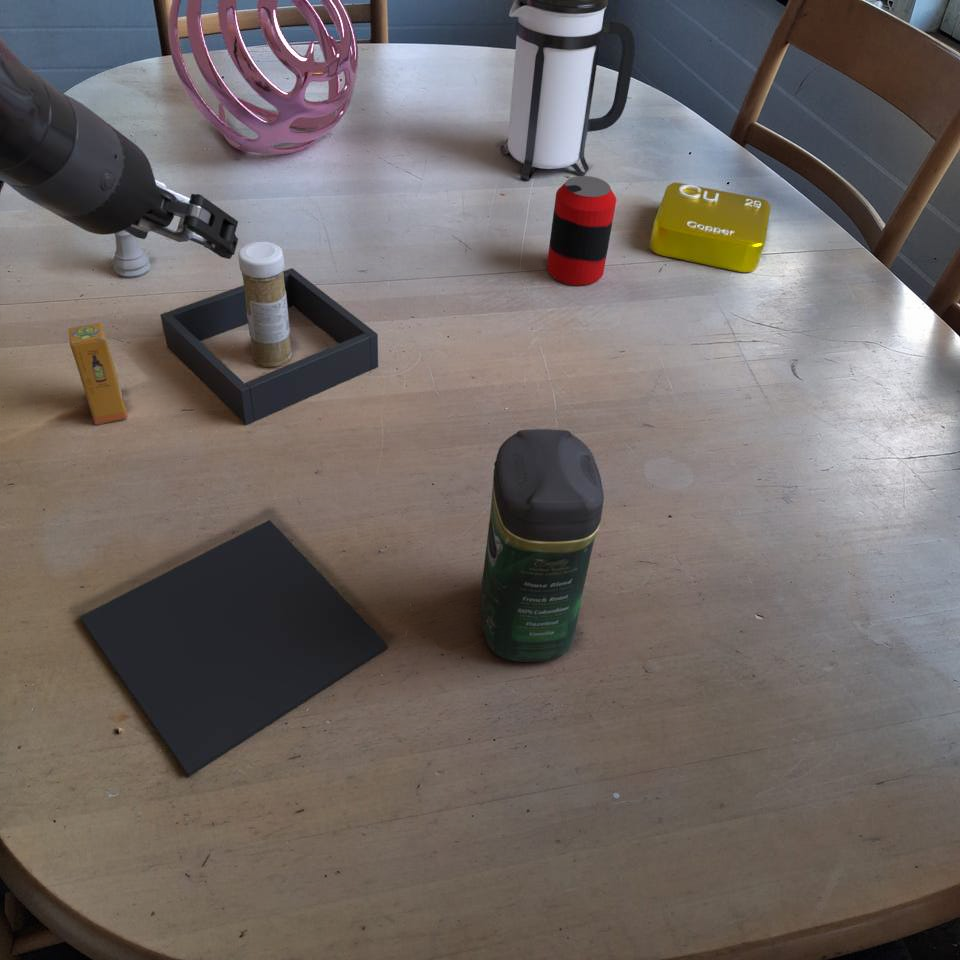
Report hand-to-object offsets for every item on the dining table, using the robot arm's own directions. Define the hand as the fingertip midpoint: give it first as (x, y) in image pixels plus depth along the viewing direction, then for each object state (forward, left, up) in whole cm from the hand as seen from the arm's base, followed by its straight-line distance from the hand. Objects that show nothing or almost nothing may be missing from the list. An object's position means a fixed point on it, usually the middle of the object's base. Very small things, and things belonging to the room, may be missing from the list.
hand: (187, 237), depth 80 cm
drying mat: (-13, -25, -21) cm, 35 cm away
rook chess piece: (+6, +32, -21) cm, 39 cm away
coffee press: (+73, +25, -21) cm, 80 cm away
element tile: (+74, -6, -21) cm, 77 cm away
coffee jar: (+7, -39, -21) cm, 45 cm away
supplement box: (-8, +7, -21) cm, 24 cm away
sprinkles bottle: (+10, +6, -21) cm, 24 cm away
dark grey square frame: (+10, +6, -21) cm, 24 cm away
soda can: (+52, -1, -21) cm, 56 cm away
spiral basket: (+41, +54, -21) cm, 71 cm away
